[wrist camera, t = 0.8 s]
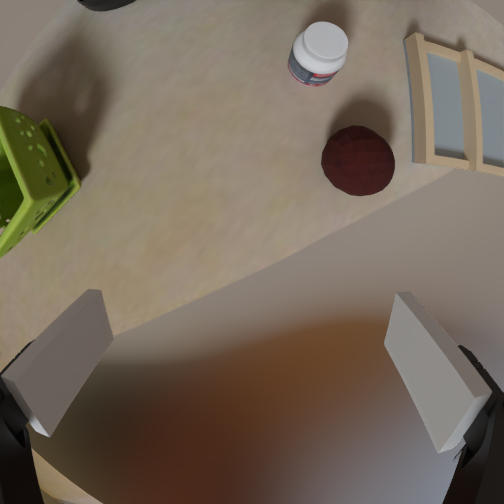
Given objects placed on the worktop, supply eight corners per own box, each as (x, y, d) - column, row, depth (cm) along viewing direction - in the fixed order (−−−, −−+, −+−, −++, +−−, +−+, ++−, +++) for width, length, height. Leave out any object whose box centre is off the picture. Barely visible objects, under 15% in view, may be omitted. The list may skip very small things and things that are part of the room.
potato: (381, 189, 32) (407, 197, 25) (319, 194, 33) (333, 204, 26) (375, 127, 30) (401, 122, 23) (311, 130, 30) (324, 123, 24)
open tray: (403, 40, 25) (414, 32, 22) (509, 79, 24) (523, 77, 21) (412, 162, 31) (426, 163, 27) (515, 179, 30) (529, 182, 26)
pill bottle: (305, 95, 29) (320, 75, 21) (278, 60, 28) (283, 30, 19) (342, 75, 28) (366, 51, 19) (315, 41, 27) (330, 8, 18)
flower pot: (99, 185, 33) (34, 203, 21) (43, 240, 36) (-14, 271, 24) (56, 106, 30) (-8, 100, 18) (7, 168, 32) (-52, 181, 20)
